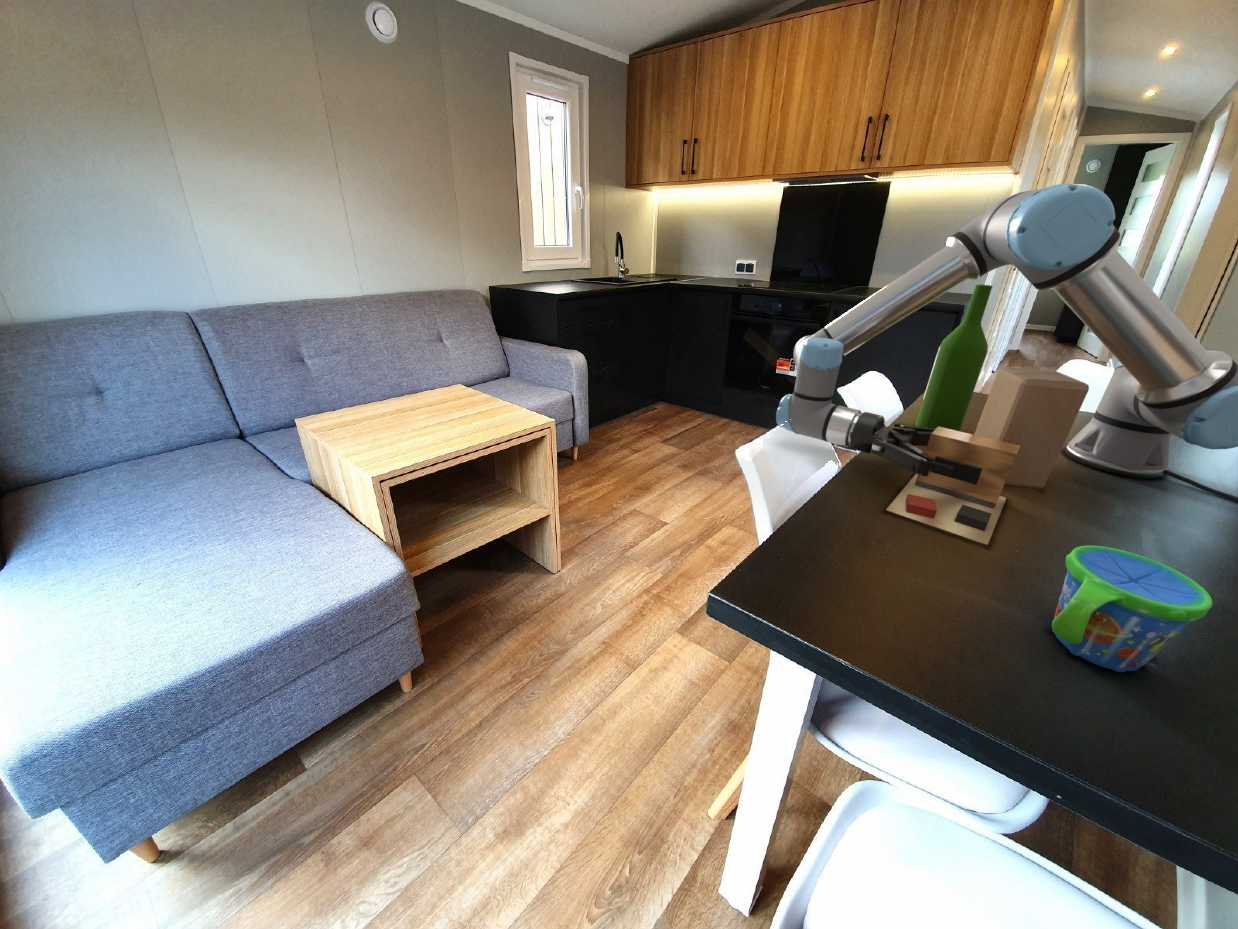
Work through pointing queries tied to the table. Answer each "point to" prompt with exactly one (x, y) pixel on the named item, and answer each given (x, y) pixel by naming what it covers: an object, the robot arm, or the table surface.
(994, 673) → the table surface
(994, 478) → the eraser
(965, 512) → the crumb
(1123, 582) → the snack cup
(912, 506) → the crumb
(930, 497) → the board
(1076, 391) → the block
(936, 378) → the wine bottle
